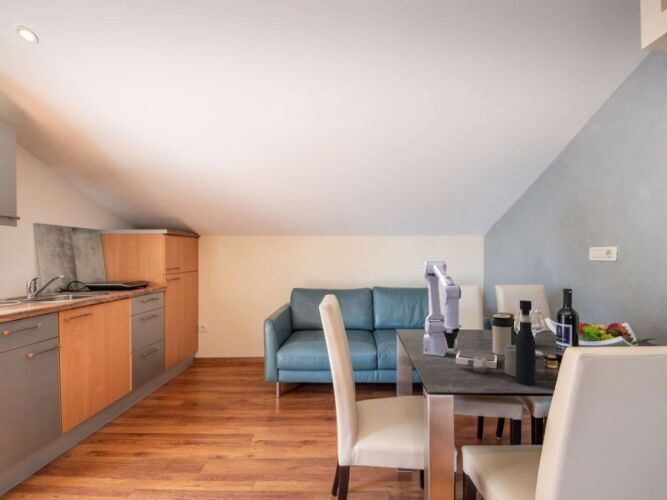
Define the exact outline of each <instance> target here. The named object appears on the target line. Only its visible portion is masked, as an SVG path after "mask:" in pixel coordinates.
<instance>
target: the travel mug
mask: <svg viewBox="0 0 667 500" xmlns="http://www.w3.org/2000/svg"><path fill="white" fill-rule="evenodd" d="M492 316H493V320H492V354H494V355H497V356H505V346H507V345H511V322H510V316H509V315H502V314H498V313H497V314H493V315H492Z"/></svg>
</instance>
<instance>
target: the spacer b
mask: <svg viewBox="0 0 667 500" xmlns="http://www.w3.org/2000/svg"><path fill="white" fill-rule="evenodd" d="M473 372H475V373H481V374H485V373H487V367H486V358H483V357H474V366H473Z"/></svg>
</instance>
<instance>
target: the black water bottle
mask: <svg viewBox="0 0 667 500" xmlns="http://www.w3.org/2000/svg"><path fill="white" fill-rule="evenodd" d="M532 303H533V301H532V300H526V299H525V300H524V299H522V300H519V310H520V311H521V316H520V321H519V332H518V335H517V339H516V377H515V382H516V383H517V384H519V385H523V386H527V387H528V386H530V387H531V386H535V385H536V382H537V380H536V379H537V377H536V375H537V374H536V365H537V363H536V360H537V358H536V356H537V355H536V348H537V347H536V341H535V337H534V336H535V335H534V334H533V331H532V320H531V319H532V318H531V316H530V311H532V310H533V309H532V307H533V305H532Z"/></svg>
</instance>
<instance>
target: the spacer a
mask: <svg viewBox="0 0 667 500" xmlns="http://www.w3.org/2000/svg"><path fill="white" fill-rule="evenodd" d="M458 342H459V341H458V338H455V343H454V348H453V349H450V348H448V346H447V342H446V341H445V351H446V352H448V353H458V351H459V349H458V348H459V347H458V345H459V344H458Z"/></svg>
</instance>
